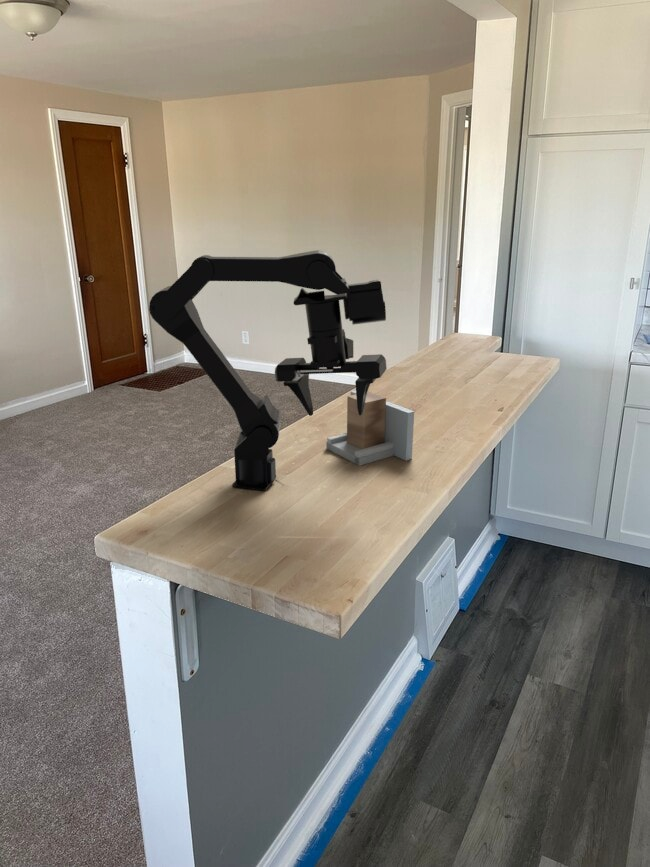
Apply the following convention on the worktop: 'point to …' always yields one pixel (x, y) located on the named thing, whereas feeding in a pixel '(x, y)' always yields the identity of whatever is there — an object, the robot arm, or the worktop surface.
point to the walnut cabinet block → (366, 421)
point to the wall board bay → (396, 438)
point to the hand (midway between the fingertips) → (335, 414)
